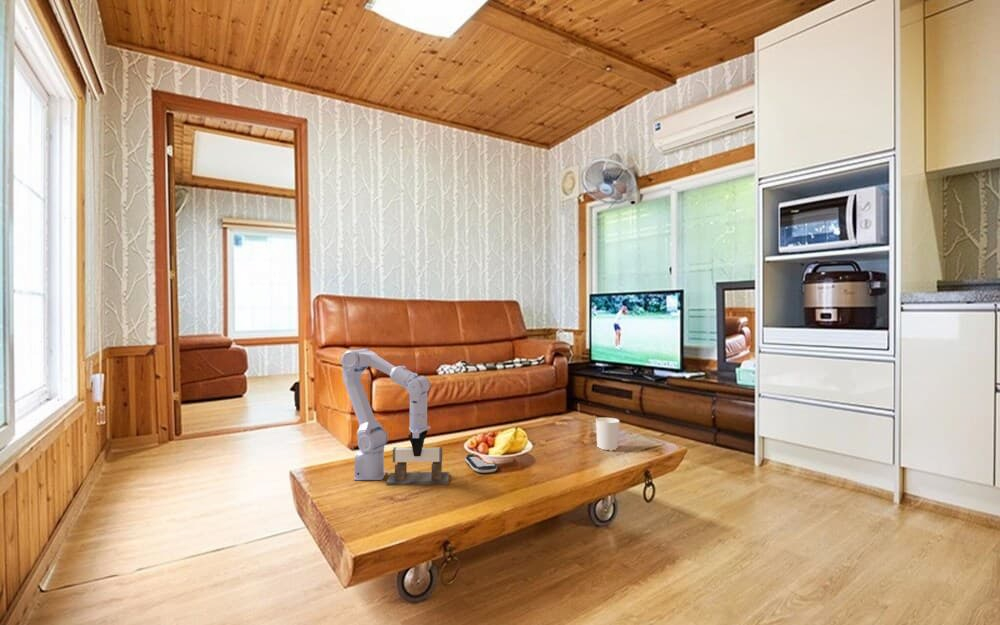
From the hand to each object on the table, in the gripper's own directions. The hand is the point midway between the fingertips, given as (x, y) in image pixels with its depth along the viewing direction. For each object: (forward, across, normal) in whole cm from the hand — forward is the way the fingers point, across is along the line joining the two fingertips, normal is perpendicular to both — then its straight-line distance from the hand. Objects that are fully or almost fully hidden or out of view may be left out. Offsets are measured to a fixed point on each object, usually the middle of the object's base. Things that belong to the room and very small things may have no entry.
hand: (417, 454), depth 157 cm
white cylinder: (+9, +36, -75) cm, 84 cm away
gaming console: (+10, +17, -21) cm, 29 cm away
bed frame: (+9, +3, 0) cm, 10 cm away
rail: (+2, 0, 0) cm, 2 cm away
